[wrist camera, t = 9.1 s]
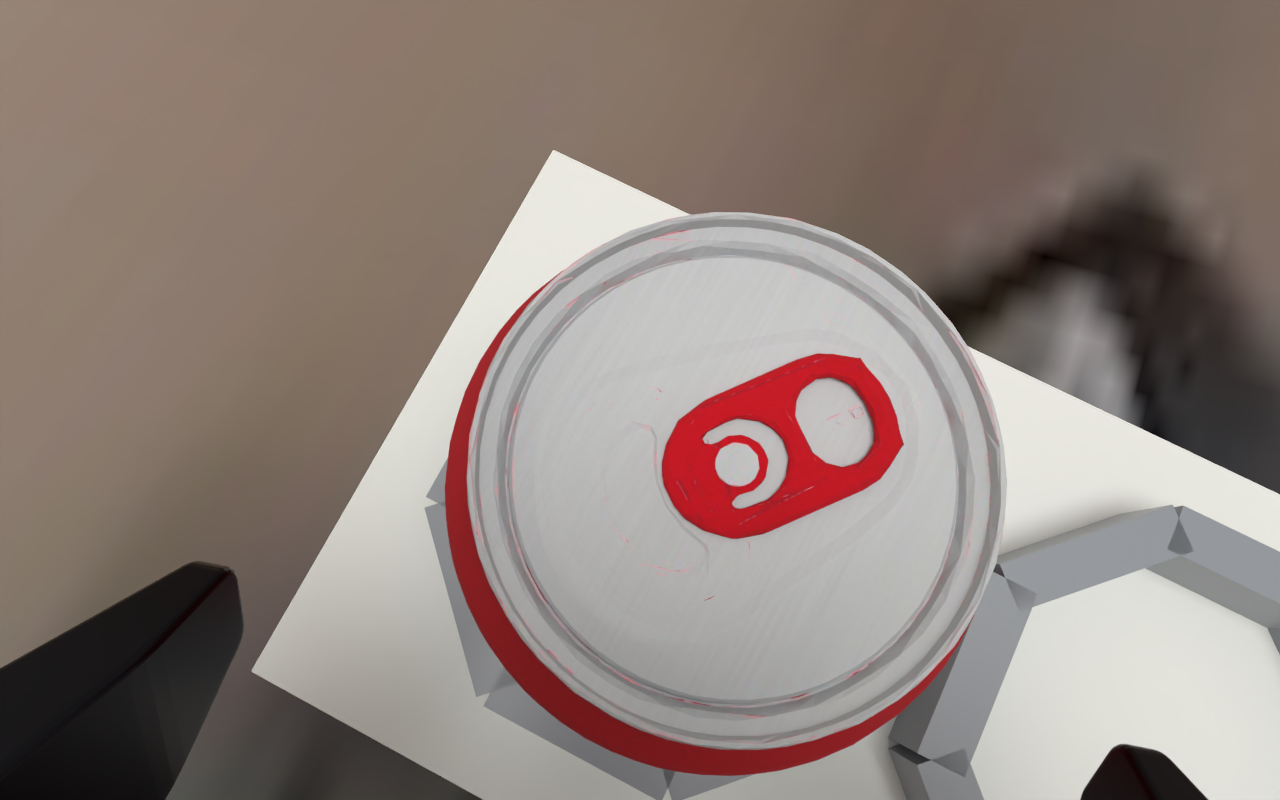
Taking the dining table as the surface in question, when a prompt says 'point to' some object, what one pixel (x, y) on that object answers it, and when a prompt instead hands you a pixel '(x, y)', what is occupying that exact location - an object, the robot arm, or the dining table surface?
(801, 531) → the beverage can
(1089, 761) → the tray
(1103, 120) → the dining table surface
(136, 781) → the robot arm
